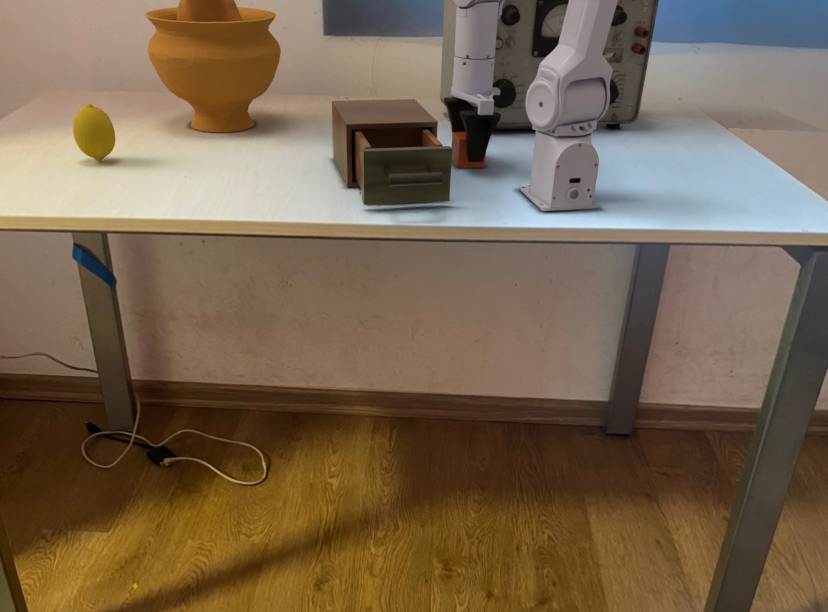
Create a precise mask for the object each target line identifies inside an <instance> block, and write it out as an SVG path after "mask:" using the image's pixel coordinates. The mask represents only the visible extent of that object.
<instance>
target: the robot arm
mask: <svg viewBox="0 0 828 612" xmlns="http://www.w3.org/2000/svg"><path fill="white" fill-rule="evenodd" d="M453 1H454V3H455V4H456V5H457V12H456V33H455V52H454V72H453V85H452V88H451V95H452V96H453V97H447V98H444V103H445V105H446V106H445V105H444V106H445V108H446V110H447V113H448V118H449V121H450V128H451V133H452V132H465V134H466V147H467V157H468V161H469V162H483V159H484V157H485V153H486V154H487V149H488V146H489V143H490V140H491V137H492V135H493V133H494V131H495V129H496V127H497V126H496V125H497V124H498V122H499V121H500V118H501V114H499V113H498V112H493V109H494V100H493V96H494V95H500V89H498V88H495V87H493V75H494V62H495V48H496V35H497V22H498V19H500V15H502V6H503V3H504V1H505V0H453ZM617 2H618V0H569V3H568V7H567V11H566V15H565V19H564V23H563V27H562V31H561V35H560V39H559V43H558V46H557V47H556V48H555V49H554V50H553V51H552V52H551V53H550V54H549V55H548V56H547V57H546V58H545V59H544V60H543V61H542V62H541V63H540V65H539V69H538V72H537V75H536V78H535V79H534V81H533V82H532V84H531V85H530V87H529V89H528V91H527V95H526V112H527V116H528V118H529V120H530V122H531V124H532V126H531V129H532V130H533V131H535V136H534V143H533V144H534V145H533V154H532V163H531V172H530V182H529V184H521V185H519V186H518V190H519V191H520V192H522V193H523V194H524V195H525V196H526V198H528V199H529V200H530V201H531V202H532V203H533V204H534V205H535V206H536V207H538V208H539V209H540V210H541V211H543V212H549V211H550V212H552V211H572V210H589V209H598V208H600V204H599V203H598V202H597V201H595V200H594V198H595V192H596V185H597V179H598V172H599V165H600V158H599V154H598V152H597V150H596V148H595V147H594V145H593V141H592V137H593V131H595V130H596V129H597V125H598V124H597V121H598V120H600V119H601V118H602V117H603V116H604V115H605V113H606V111H607V109H608V106H609V102H610V79H611V76H612V72H613V69H612V67H611V66H610V65H609V63H608V62H607V61H606V59H605V58H604V56H603V55H602V54H603V50H604V47H605V43H606V40H607V36H608V33H609V30H610V26H611V23H612V19H613V16H614V12H615V9H616V5H617Z"/></svg>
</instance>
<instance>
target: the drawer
mask: <svg viewBox="0 0 828 612" xmlns="http://www.w3.org/2000/svg"><path fill="white" fill-rule="evenodd" d="M451 147H452V146H450V145H443V144H442V142H441V141H440V140H439V139H438V137H437V138H436V137H435V136H434V135H433V134H432V133H431V132H430V131H429V130H428V129H427V128H426V127H422V128H387V129H352V164H353V174H354V176H355V178H356V180H357V182H358V184H359V186H360V187H359V188H360V189H361V195H362V196H361V197H362V204H363V205H364V206H372V205H394V204H395V205H397V204H414V203H434V202H435V203H436V202H437V203H438V202H450V198H451V179H452V163H453V162H452V148H451Z"/></svg>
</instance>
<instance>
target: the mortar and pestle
mask: <svg viewBox="0 0 828 612" xmlns="http://www.w3.org/2000/svg"><path fill="white" fill-rule="evenodd" d="M144 17H146V18H147V20H148V21H149V22H150V23H151V24H152V25H153V26H154V28H155V33H154V34H153V35H152V36H151V38H150V39H149V41H148V44H147V48H146V49H147V54H148V57H149V61H150V63H151V64H152V66H153V68H154V70H155V72H156V73H157V76H158V77H159V79H160V81H161V82H162V84H163V85H164V86H165V88H166V89H167V90H168V91H169V92H171V93H172V94H173V95H174V96H175V97H177V98H179V99H181V100H184V101H186V102H187V103H188V104H189V105H190V106H191V107H192V109H193V111H194V115H193V118H192V121H191V123H190V127H191V128H193V130H196V131H197V130H198V131H201V132H207V133H208V132H209V133H232V132H241V131H245V130H248V129H251V128H252V127H253V126H255V122H254V120H253V119H252V117H251V116H250V113H249V107H250V105H251V103H253V101H254V100H255V99H257V98H259V97H260V96H262V95H263V94H264V93H265V92H267V91H268V90H269V87H270V86H271V84H272V82H273V81H274V79H275V76H276V73H277V70H278V67H279V64H280V59H281V53H282V51H281V50H282V49H281V46H280V44H279V42H278V40H277V39H276V37H274V35H273V34H272V33H271V31H270V30H269V29H270V25H271V24H272V22H273V21H275V19H276V17H277V13H275V12H273V11H271V10H266V9H259V8H255V7H254V8H253V7H241V6H240V7H239V6H237V4H236V1H235V0H179V2H178V5H177V7H168V8H167V7H165V8H159V9H154V10H150V11H146V12H145V13H144Z"/></svg>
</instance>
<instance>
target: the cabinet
mask: <svg viewBox="0 0 828 612" xmlns="http://www.w3.org/2000/svg"><path fill="white" fill-rule="evenodd" d="M331 122H332V125H331V126H332V156H333V161H334V163H335V165H336V167H337V169H338V172H339V174H340V175H341V177H342V179H343V182H344V183H345V185H346V187H347V188H360V186H359V184H358V182H357V180H356V178H355V176H354V174H353V164H352V129H387V128H422V127H426V128H427V129H428V130H429V131H430V132H431V133H432V134H433V135H434V136H435V137H436V138H437V139H438V125H439V122H438V120H436V118H434V117H433V116H432V114H431V113H429V112H428V110H426V108H425V107H423V105H421V103H419V101H417V100H416V99H415V98H407V99H406V98H403V99H401V98H399V99H360V100H359V99H357V100H355V99H354V100H353V99H352V100H350V99H349V100H332V101H331Z"/></svg>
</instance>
